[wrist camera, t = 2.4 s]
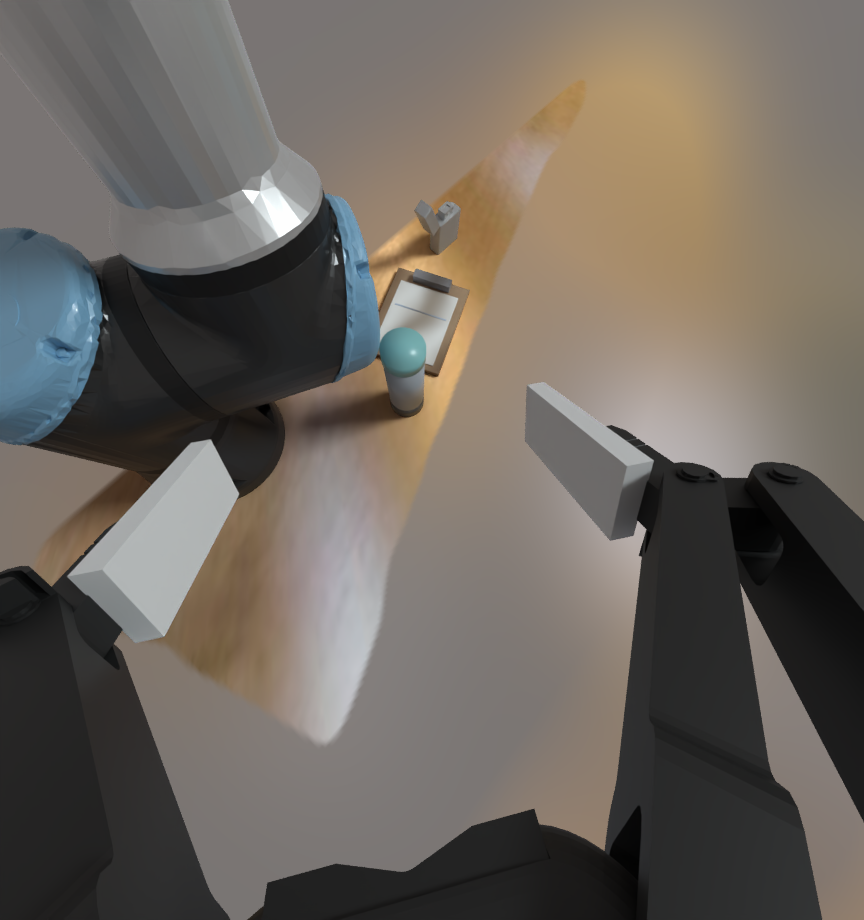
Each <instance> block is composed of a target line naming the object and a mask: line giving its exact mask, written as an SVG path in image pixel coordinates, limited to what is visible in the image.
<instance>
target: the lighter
mask: <svg viewBox="0 0 864 920" xmlns="http://www.w3.org/2000/svg"><path fill="white" fill-rule="evenodd" d="M460 210H461V209H460V207H458V206H457V205H456V204H454V203H453V202H448V201H447V202H446V203H445V204H443V205H442V206H441V207H440V208H439V209H438V213H437V214H436V215H435V214H434V212H433V209H432V208H431V207H430V206H429V205H428V204H426V203H425V202H424V201H422V200H421V201H420V203H419V204H418V206H417V207H416V209H415V210H414V211H415V213H416V215H417V217H418V219H419V221H420V223H421V225H422V227H423V229H424V230H426V231H427V232H428V233H429V234H430V249H431V250H432V251H434V252H435V253H436V254H440V253H441V252H442V251H443V250H445V249H446V248H447V247H448V246H449V245H450V244H451V243H452V242H453V241H455V240H456V239H457V234H458V226H459V218H460Z"/></svg>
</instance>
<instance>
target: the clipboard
mask: <svg viewBox="0 0 864 920" xmlns="http://www.w3.org/2000/svg"><path fill="white" fill-rule="evenodd" d="M469 291H470V290H467V289H464V288H461V287H458V286H455V285H452V280H450V279H447V278H444V277H441V276H437V275H434V274H431V273H428V272H425V271H422V270H419V269H416V270H415V272H411V271H408V270H405V269H402V268H398V271H397V273H396V275H395V278H394V280H393V282H392V284H391V287H390V289H389V291H388V293H387V296H386V298H385V300H384V303H383V305H382V307H381V309H380V312H379V321H380V341H381V339H382V338H383V336H384V335H385V334H386V333H387V332H389V331H390V330H392V329H395V328H400V327H406V328H410V329H413V330H415V331H417V332H418V333H419V334H420V335H421V336H422V337H423V339H424V340H425V343H426V362H425V370H424V372H426V373H429V374H432V375H435V376H438V375H439V373H440V370H441V367H442V365H443V362H444V359H445V357H446V354H447V351H448V348H449V346H450V343H451V340H452V338H453V335H454V332H455V330H456V327H457V324H458V322H459V319H460V316H461V314H462V311H463V308H464V305H465V303H466V300H467V297H468V295H469ZM377 356H378V357H380V352H379V350H378V353H377Z"/></svg>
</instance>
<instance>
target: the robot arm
mask: <svg viewBox="0 0 864 920" xmlns="http://www.w3.org/2000/svg"><path fill="white" fill-rule="evenodd" d="M0 55H1V56H2V57H3V58H4V59H5V61H6V62H7V63H8V65H9V66H10V67H11V68H12V70H13V71H14V72H15V73H16V75H17V76H18V77H19V79H20V80H21V81H22V82H23V84H24V85H25V86H26V87H27V89H28V90H29V91H30V92H31V94H32V95H33V96H34V97H35V99H36V100H37V101H38V102H39V104H40V105H41V106H42V108H43V109H44V110H45V111H46V113H47V114H48V115H49V117H50V118H51V119H52V120H53V122H54V123H55V124H56V125H57V127H58V128H59V129H60V130H61V132H62V133H63V134H64V135H65V137H66V138H67V139H68V141H69V142H70V143H71V144H72V146H73V147H74V148H75V149H76V151H77V152H78V153H79V154H80V156H81V157H82V158H83V159H84V161H85V162H86V163H87V164H88V166H89V167H90V168H91V170H92V171H93V172H94V173H95V175H96V176H97V177H98V178H99V180H100V181H101V182H102V183H103V185H104V186H105V187H106V189H107V190H108V191H109V193H110V197H111V202H110V203H111V204H110V218H109V237H110V240H111V242H112V244H113V245H114V247H115V248H116V249H117V251H118V252H119V254H120V255H117V256H113V257H109V258H105V259H101V260H97V261H91V262H90V261H88V260H87V259H86V258H85V257H84V256H83V255H82V253H81V252H79V251H78V250H77V249H75V248H74V247H73V246H71V245H70V244H67V243H65V242H61V241H59V240H58V239H56V238H55V237H52V236H50V235H47V234H42V233H38V232H36V231H34V230H31V229H26V228H4V229H0V441H1V442H4V443H7V444H13V445H16V444H17V445H27V446H31V447H35V448H40V449H44V450H48V451H53V452H57V453H61V454H65V455H69V456H74V457H78V458H82V459H86V460H90V461H95V462H98V463H103V464H107V465H111V466H115V467H119V468H123V469H127V470H132V471H136V472H137V473H139V474H140V475H141V476H142V477H144V478H145V479H146V480H147V481H149V482H150V483H151V484H152V485H151V486H150V487H149V489H148V490H147V491H146V492H145V493H144V494H143V495H142V496H141V497H140V498H139V499H138V500H137V502H136V503H135V504H134V505H133V506H132V507H131V508H130V509H129V510H128V511H127V512H126V513H125V514H124V516H123V517H122V518H121V519H120V520H118V521H117V522H116V523H114V524H113V525H111V526H110V527H109V528H107V529H106V530H105V531H104V532H103V533H102V534H101V535H100V536H99V537H98V538H97V539H96V540H95V541H94V544H93V545H91V546H90V547H89V548H88V549H87V550H86V551H85V552H84V555H81V556H80V557H79V558H78V559H77V561H76V562H75V563H74V564H73V565H72V566H71V567H70V568H69V569H68V570H67V571H66V572H65V573H64V574H63V575H62V576H61V578H60V579H59V580H58V581H57V582H56V583H55V584H54V585H53V586H52V587H51V586H50V585H49V584H48V583H47V582H46V581H45V580H43V579H42V578H41V577H40V576H39V575H38V574H37V573H36V572H35V571H34V570H33V569H31V568H30V567H29V566H19V567H15V568H11V569H7V570H5V571H2V572H0V920H230V918H229V917H228V915H227V914H226V912H225V911H224V910H223V909H222V908H221V906H220V905H219V904H218V903H217V901H216V900H215V899H214V897H213V896H212V894H211V892H210V890H209V888H208V886H207V883H206V880H205V878H204V875H203V872H202V869H201V867H200V864H199V861H198V859H197V856H196V853H195V850H194V848H193V845H192V842H191V840H190V837H189V834H188V831H187V828H186V826H185V823H184V820H183V818H182V815H181V812H180V810H179V807H178V804H177V801H176V798H175V796H174V793H173V791H172V787H171V785H170V782H169V779H168V777H167V774H166V771H165V769H164V766H163V763H162V760H161V757H160V755H159V752H158V749H157V747H156V744H155V741H154V738H153V736H152V733H151V730H150V728H149V725H148V722H147V719H146V717H145V714H144V711H143V708H142V706H141V703H140V700H139V697H138V695H137V692H136V689H135V686H134V684H133V681H132V678H131V676H130V673H129V670H128V667H127V665H126V662H125V659H124V656H123V654H122V651H121V650H120V649H119V648H118V647H117V646H115V645H114V642H115V640H116V639H117V637H118V636H119V634H120V633H121V631H123V632H124V633H125V634H126V635H127V636H128V637H129V638H131V639H132V640H133V641H134V642H135V643H138V642H142V641H147V640H152V639H156V638H161V637H164V636H165V635H166V633H167V631H168V629H169V627H170V625H171V623H172V621H173V619H174V617H175V615H176V614H177V612H178V610H179V608H180V606H181V604H182V602H183V600H184V598H185V596H186V595H187V593H188V591H189V589H190V587H191V585H192V583H193V581H194V579H195V577H196V576H197V574H198V572H199V570H200V568H201V566H202V564H203V562H204V560H205V558H206V557H207V555H208V553H209V551H210V549H211V547H212V545H213V543H214V541H215V539H216V538H217V536H218V534H219V532H220V530H221V528H222V526H223V524H224V522H225V520H226V519H227V517H228V515H229V513H230V511H231V509H232V507H233V505H234V503H235V501H236V499H238V498H240V497H242V496H244V495H246V494H248V493H250V492H251V491H253V490H254V489H256V488H257V487H258V486H259V485H261V484H262V483H263V482H264V481H265V480H266V479H267V478H268V476H269V475H270V474H271V473H272V471H273V470H274V468H275V467H276V465H277V463H278V461H279V459H280V456H281V454H282V450H283V446H284V440H285V428H284V422H283V418H282V415H281V413H280V411H279V409H278V407H277V405H276V404H275V403H274V401H276V400H279V399H282V398H285V397H288V396H291V395H294V394H297V393H301V392H304V391H307V390H310V389H313V388H316V387H319V386H322V385H325V384H328V383H333V382H337V381H339V380H340V379H341V378H342V377H344V376H346V375H349V374H351V373H354V372H356V371H358V370H361V369H363V368H365V367H367V366H368V365H370V364H371V363H372V362H373V361H374V359H375V358H376V356H377V353H378V350H379V346H380V321H379V312H378V304H377V297H376V292H375V287H374V282H373V279H372V277H371V275H370V273H369V263H368V257H367V252H366V248H365V245H364V241H363V238H362V235H361V232H360V229H359V227H358V223H357V221H356V218H355V216H354V214H353V212H352V210H351V208H350V207H349V205H348V203H347V202H346V201H345V200H344V199H342V198H341V197H339V196H332V195H330V194H326V195H325V194H324V192H323V188H322V185H321V182H320V179H319V175H318V174H317V172H316V170H315V168H314V167H313V166H312V165H311V164H310V163H309V162H308V161H306V160H305V159H303V158H302V157H301V156H299V155H298V154H296V153H295V152H293V151H292V150H291V149H289V148H288V147H286V146H285V145H284V144H282V143H281V142H280V141H279V140H278V139H277V136H276V134H275V131H274V128H273V125H272V122H271V119H270V117H269V114H268V111H267V108H266V105H265V103H264V100H263V97H262V94H261V92H260V89H259V86H258V83H257V80H256V77H255V75H254V72H253V69H252V66H251V63H250V61H249V58H248V55H247V52H246V50H245V47H244V44H243V41H242V38H241V35H240V33H239V30H238V27H237V25H236V21H235V19H234V16H233V13H232V10H231V7H230V5H229V2H228V0H0ZM526 396H527V397H526V423H525V442H526V443H527V444H528V445H529V446H530V448H531V449H532V450H533V451H534V452H535V453H536V454H537V456H538V457H539V458H540V459H541V460H542V462H543V463H544V464H545V465H546V466H547V467H548V469H549V470H550V471H551V472H552V473H553V474H554V476H555V477H556V478H557V479H558V480H559V481H560V483H561V484H562V485H563V486H564V487H565V488H566V490H567V491H568V492H569V493H570V494H571V496H572V497H573V498H574V499H575V500H576V501H577V502H578V504H579V505H580V506H581V507H582V508H583V510H584V511H585V512H586V513H587V514H588V515H589V517H590V518H591V519H592V520H593V521H594V522H595V523H596V525H597V526H598V527H599V528H600V529H601V531H602V532H603V533H604V534H605V535H606V536H607V538H608V539H609V540H616V539H620V538H625V537H630V536H633V535H634V531H635V528H636V524H637V521H639V522H640V523H641V524H642V525H643V526H644V527H645V528H646V529H647V530H646V533H645V537H644V540H643V543H642V546H641V550H640V553H639V556H642V560H641V569H640V579H639V588H638V597H637V605H636V614H635V623H634V632H633V641H632V650H631V658H630V668H629V676H628V686H627V694H626V703H625V712H624V722H623V730H622V739H621V748H620V757H619V765H618V774H617V781H616V786H615V791H614V795H613V800H612V804H611V809H610V815H609V821H608V828H607V836H606V845H605V851H603V850H602V849H600V848H599V847H597V846H596V845H594V844H592V843H591V842H589V841H588V840H586V839H584V838H582V837H580V836H577V835H576V834H573V833H571V832H569V831H566V830H563V829H559V828H556V827H553V826H547V825H539V823H538V820H537V817H536V813H535V810H534V809H531V810H528V811H524V812H521V813H517V814H513V815H510V816H506V817H503V818H499V819H496V820H492V821H488V822H485V823H481V824H477V825H474V826H471V827H470V828H469V829H467V830H466V831H464V832H463V833H462V834H460V835H459V836H458V837H456V838H455V839H453V840H452V841H451V842H449V843H448V844H446V845H445V846H444V847H442V848H441V849H439V850H438V851H437V852H435V853H434V854H433V855H431V856H430V857H428V858H427V859H426V860H424V861H423V862H421V863H420V864H419V865H417V866H416V867H414V868H413V869H411V870H409V871H406V872H396V871H388V870H381V869H373V868H365V867H357V866H349V865H341V864H333V865H330V866H326V867H323V868H319V869H316V870H312V871H309V872H305V873H301V874H298V875H294V876H290V877H287V878H283V879H279V880H276V881H272V882H269V883H268V884H267V889H266V895H265V902H264V906H263V907H262V908H260V909H259V910H258V911H257V912H256V913H255V914H253V916H251V917H250V918H249V919H248V920H822V916H821V911H820V907H819V902H818V896H817V891H816V886H815V881H814V876H813V871H812V866H811V861H810V857H809V852H808V847H807V842H806V837H805V831H804V828H803V824H802V821H801V817H800V814H799V810H798V807H797V806H796V804H795V802H794V800H793V798H792V796H791V794H790V792H789V791H787V790H786V789H785V788H784V787H782V786H781V785H780V784H779V783H777V782H776V781H775V779H774V777H773V775H772V773H771V770H770V766H769V762H768V756H767V750H766V743H765V737H764V731H763V725H762V718H761V712H760V706H759V699H758V693H757V687H756V681H755V675H754V669H753V662H752V656H751V649H750V643H749V637H748V631H747V624H746V618H745V612H744V605H743V600H742V593H741V587H740V583H741V585H742V587H743V589H744V591H745V593H746V595H747V597H748V599H749V601H750V603H751V604H752V606H753V609H754V611H755V612H756V614H757V616H758V618H759V620H760V622H761V624H762V626H763V628H764V630H765V632H766V634H767V636H768V638H769V640H770V641H771V643H772V645H773V647H774V649H775V651H776V653H777V655H778V657H779V659H780V661H781V663H782V665H783V667H784V668H785V670H786V672H787V674H788V676H789V678H790V680H791V682H792V684H793V686H794V688H795V690H796V692H797V694H798V696H799V697H800V700H801V701H802V703H803V705H804V707H805V709H806V711H807V713H808V715H809V717H810V719H811V721H812V723H813V724H814V726H815V729H816V730H817V732H818V734H819V736H820V738H821V740H822V742H823V744H824V746H825V748H826V750H827V752H828V754H829V756H830V758H831V759H832V761H833V763H834V765H835V767H836V769H837V771H838V773H839V775H840V777H841V779H842V781H843V783H844V785H845V787H846V788H847V790H848V792H849V794H850V796H851V798H852V800H853V802H854V804H855V806H856V808H857V810H858V812H859V814H860V816H861V817H862V819H863V821H864V521H863V520H862V519H861V518H860V517H859V516H858V515H856V514H855V513H854V512H853V511H852V510H851V509H850V508H849V507H848V506H847V505H846V504H845V503H844V502H843V501H842V500H841V499H840V498H838V496H837V495H835V493H833V492H832V491H831V490H830V489H829V488H828V487H827V486H826V485H825V484H824V483H823V482H822V481H821V480H820V479H819V478H818V477H816V476H815V475H813V474H812V473H810V472H808V471H806V470H804V469H801V468H799V467H798V466H794V465H790V464H786V463H775V462H764V463H759V464H756V465H754V466H753V468H752V469H751V472H750V474H749V476H748V478H722V477H721V475H719V474H718V473H717V472H715V471H714V470H712V469H710V468H708V467H705V466H702V465H698V464H694V463H685V462H680V463H673V462H672V461H670V460H669V459H667V458H666V457H664V456H663V455H661V454H660V453H658V452H657V451H655V450H654V449H653V448H651V447H650V446H648V445H645V443H644V442H642V441H640V440H639V439H636V437H635V436H633V435H632V434H630V433H629V432H627V431H626V430H623V429H620V428H618V427H615V426H612V425H610V426H604V425H603V424H602V423H600V422H599V421H598V420H596V419H595V418H593V417H592V416H591V415H589V414H588V413H586V412H585V411H584V410H582V409H581V408H579V407H578V406H576V405H575V404H574V403H572V402H571V401H570V400H568V399H567V398H565V397H564V396H563V395H561V394H560V393H559V392H557V391H556V390H554V389H553V388H552V387H550V386H549V385H547V384H546V383H545V382H541V383H535V384H529V385H527V395H526Z"/></svg>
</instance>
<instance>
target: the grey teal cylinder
mask: <svg viewBox="0 0 864 920" xmlns="http://www.w3.org/2000/svg"><path fill="white" fill-rule="evenodd" d="M379 352H380V357H381V362H382V365H383V367H384V371H385V376H386V381H387V386H388V391H389V396H390V401H391V406H392V408H393V410H394V411H395V412H396V413H397V414H398V415H400V416H404V417H411V416H414V415H416V414H417V413H419V412H420V410H421V409H422V407H423V400H424V370H425V362H426V343H425V340H424V339H423V337H422V336H421V335H420V334H419V333H418V332H417V331H415V330H413V329H410V328H406V327H400V328H395V329H392V330H390V331H389V332H387V333H386V334H385V335H384V336H383V338H382V339H381V341H380V346H379Z"/></svg>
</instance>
